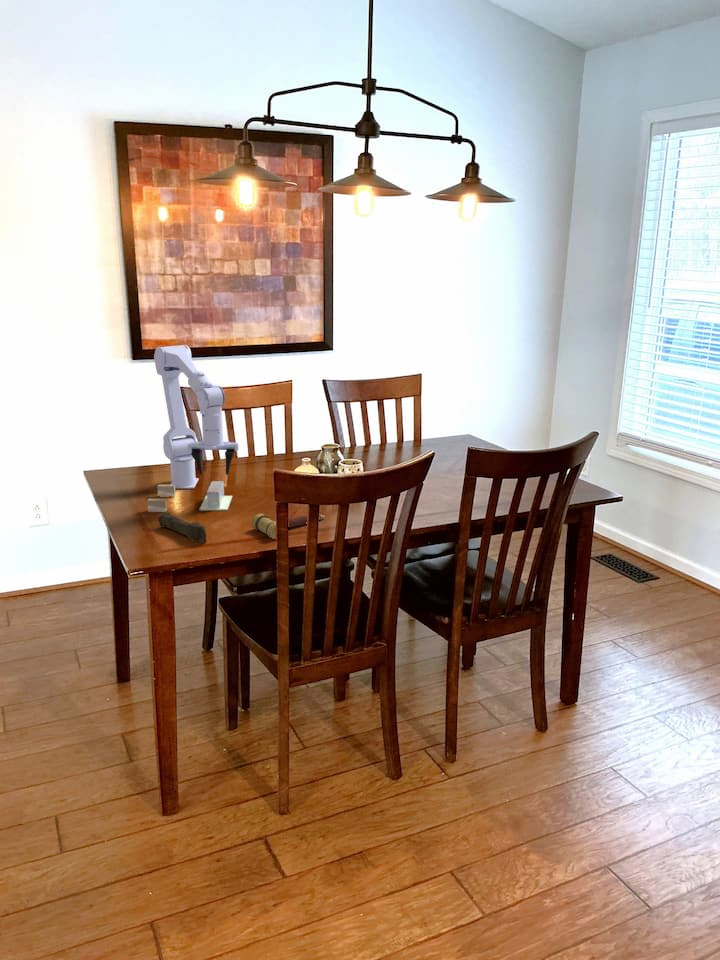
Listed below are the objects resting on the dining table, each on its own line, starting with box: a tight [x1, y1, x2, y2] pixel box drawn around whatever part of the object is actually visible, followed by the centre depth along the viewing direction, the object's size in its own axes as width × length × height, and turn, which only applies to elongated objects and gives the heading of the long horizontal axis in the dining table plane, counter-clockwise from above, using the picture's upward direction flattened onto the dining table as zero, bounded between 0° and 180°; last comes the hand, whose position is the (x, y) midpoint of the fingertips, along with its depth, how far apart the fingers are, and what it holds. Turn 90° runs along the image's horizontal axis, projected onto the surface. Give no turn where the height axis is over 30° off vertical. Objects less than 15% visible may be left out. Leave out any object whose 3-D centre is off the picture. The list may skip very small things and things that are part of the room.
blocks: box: [146, 484, 177, 513], centre depth 232 cm, size 17×5×4 cm, turn 2°
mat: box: [199, 495, 233, 511], centre depth 231 cm, size 12×8×1 cm, turn 2°
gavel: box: [251, 513, 326, 540], centre depth 214 cm, size 21×5×10 cm
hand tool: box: [157, 512, 207, 544], centre depth 207 cm, size 19×4×5 cm, turn 45°
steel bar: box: [206, 480, 225, 508], centre depth 231 cm, size 10×4×5 cm, turn 2°
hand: (214, 473), depth 229 cm, fingers open, 7 cm apart
